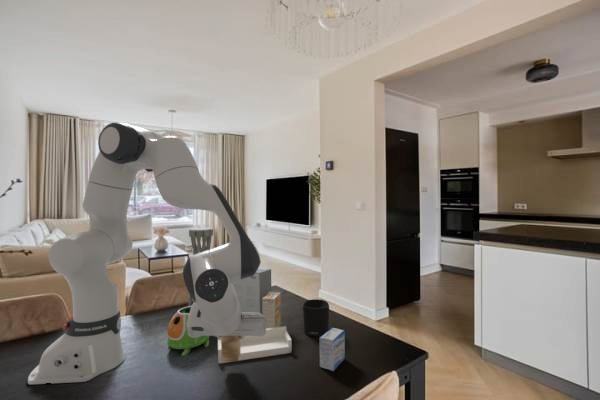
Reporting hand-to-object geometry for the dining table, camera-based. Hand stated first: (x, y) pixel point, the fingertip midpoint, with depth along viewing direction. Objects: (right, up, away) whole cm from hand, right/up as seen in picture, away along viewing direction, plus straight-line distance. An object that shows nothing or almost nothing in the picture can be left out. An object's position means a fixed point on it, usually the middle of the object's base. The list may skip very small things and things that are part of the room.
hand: (231, 336), depth 87 cm
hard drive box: (0, -9, +35) cm, 36 cm away
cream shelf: (+5, -9, +10) cm, 14 cm away
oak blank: (0, -6, -1) cm, 6 cm away
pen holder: (+25, -9, +23) cm, 35 cm away
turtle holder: (-16, -9, +15) cm, 24 cm away
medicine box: (+29, -9, +3) cm, 30 cm away
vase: (-22, -9, +44) cm, 50 cm away
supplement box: (+9, -9, +24) cm, 28 cm away
